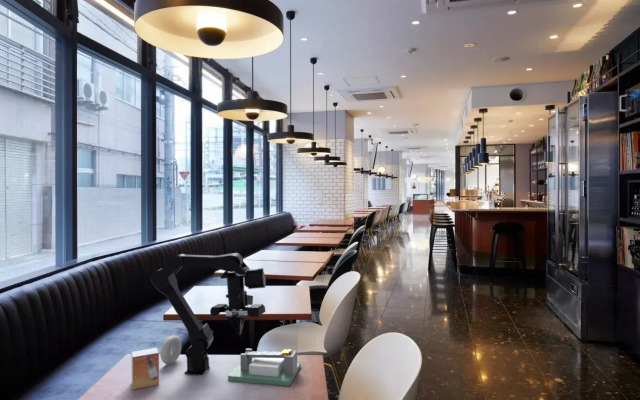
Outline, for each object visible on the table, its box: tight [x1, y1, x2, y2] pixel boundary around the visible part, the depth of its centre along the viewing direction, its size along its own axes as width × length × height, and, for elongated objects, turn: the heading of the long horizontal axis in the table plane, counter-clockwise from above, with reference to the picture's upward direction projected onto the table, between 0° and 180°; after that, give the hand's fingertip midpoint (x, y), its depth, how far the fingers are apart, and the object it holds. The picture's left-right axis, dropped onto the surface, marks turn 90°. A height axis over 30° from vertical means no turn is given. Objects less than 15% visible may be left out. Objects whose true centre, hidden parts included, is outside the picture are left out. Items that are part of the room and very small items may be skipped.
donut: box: [159, 335, 182, 365], centre depth 150 cm, size 10×4×10 cm, turn 164°
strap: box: [244, 348, 292, 359], centre depth 141 cm, size 17×3×2 cm, turn 78°
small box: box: [131, 347, 160, 390], centre depth 134 cm, size 8×6×10 cm
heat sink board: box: [227, 348, 302, 387], centre depth 141 cm, size 21×15×8 cm
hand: (239, 334), depth 143 cm, fingers closed
